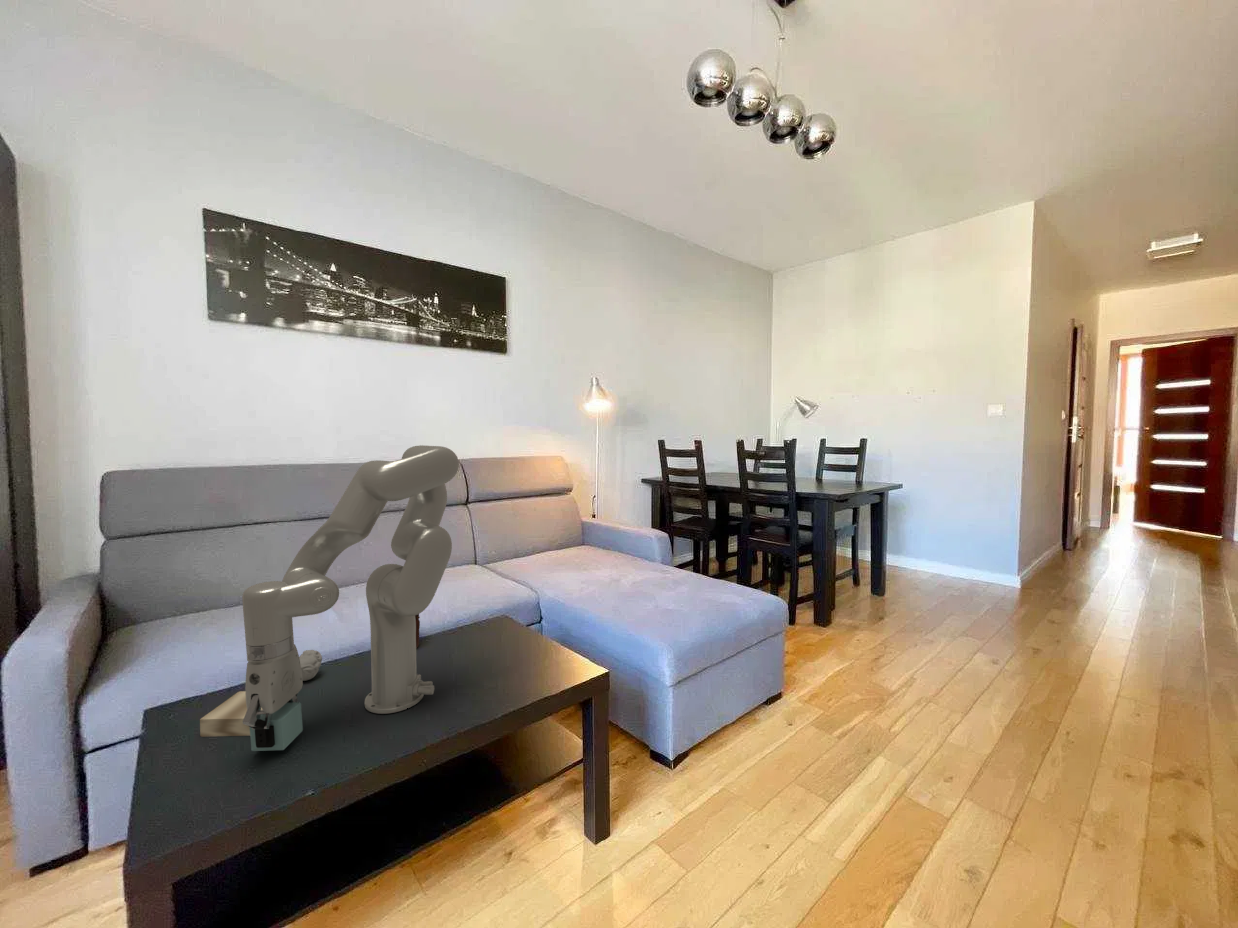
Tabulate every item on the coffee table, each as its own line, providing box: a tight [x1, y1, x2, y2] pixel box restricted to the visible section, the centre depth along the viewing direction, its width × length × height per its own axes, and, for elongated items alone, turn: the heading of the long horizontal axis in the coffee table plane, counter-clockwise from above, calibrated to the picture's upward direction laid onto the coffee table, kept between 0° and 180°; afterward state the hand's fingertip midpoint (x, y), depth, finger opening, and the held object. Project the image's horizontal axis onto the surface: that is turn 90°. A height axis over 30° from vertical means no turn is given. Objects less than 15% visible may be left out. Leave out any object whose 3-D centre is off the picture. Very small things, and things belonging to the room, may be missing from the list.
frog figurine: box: [299, 649, 323, 682], centre depth 124 cm, size 6×7×7 cm
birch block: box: [199, 690, 263, 738], centre depth 106 cm, size 11×11×4 cm
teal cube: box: [249, 701, 304, 752], centre depth 97 cm, size 6×6×6 cm
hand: (277, 734), depth 97 cm, fingers closed on teal cube, 6 cm apart
